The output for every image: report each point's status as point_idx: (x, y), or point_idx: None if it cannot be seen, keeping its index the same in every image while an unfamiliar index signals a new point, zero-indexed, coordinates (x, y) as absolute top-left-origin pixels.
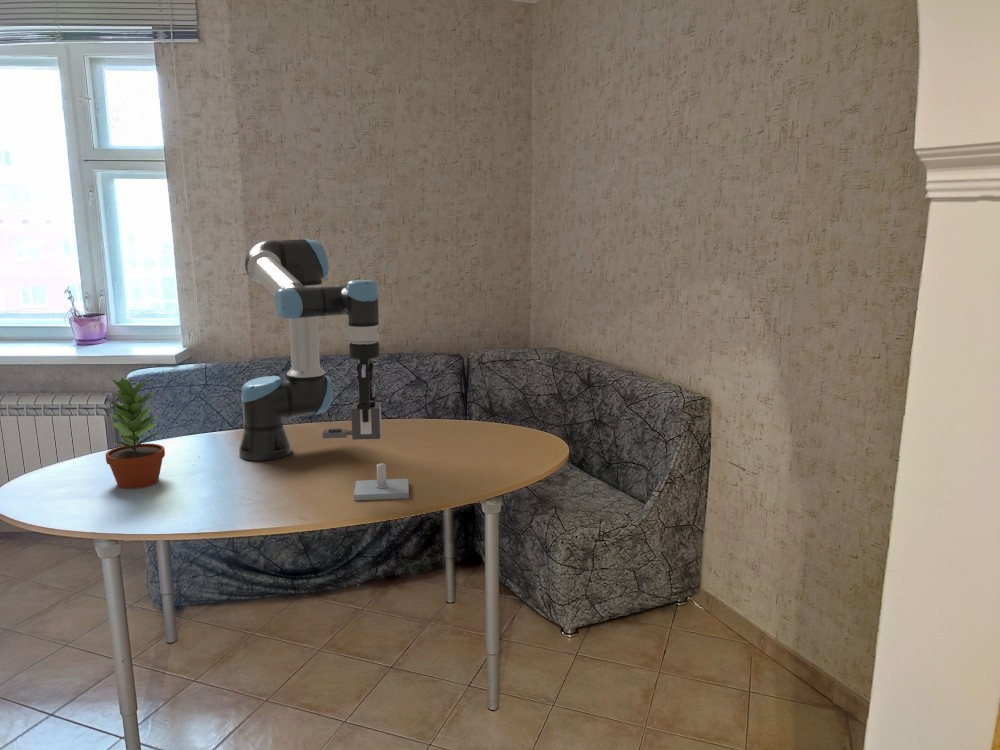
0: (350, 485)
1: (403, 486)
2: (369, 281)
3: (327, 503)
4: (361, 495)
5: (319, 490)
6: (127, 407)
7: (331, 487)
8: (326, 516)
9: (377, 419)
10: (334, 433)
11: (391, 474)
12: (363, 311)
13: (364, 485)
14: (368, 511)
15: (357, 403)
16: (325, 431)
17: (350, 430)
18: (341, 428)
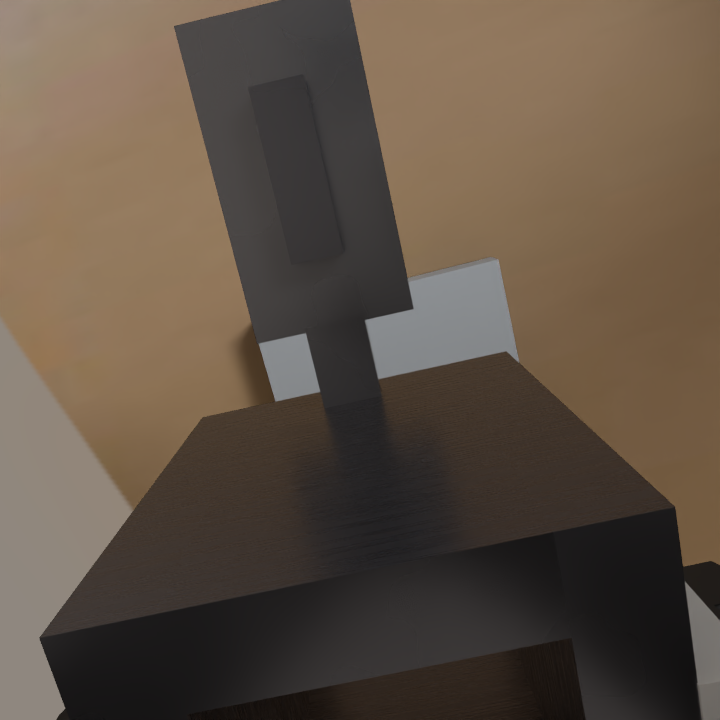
0: (499, 219)
1: None
2: None
3: (190, 179)
4: (264, 362)
5: (393, 51)
6: None
7: (453, 111)
8: (6, 240)
9: None
10: (218, 192)
11: (707, 406)
12: None
13: (416, 336)
14: (121, 434)
15: (584, 618)
16: (262, 38)
17: (356, 364)
18: (337, 252)
